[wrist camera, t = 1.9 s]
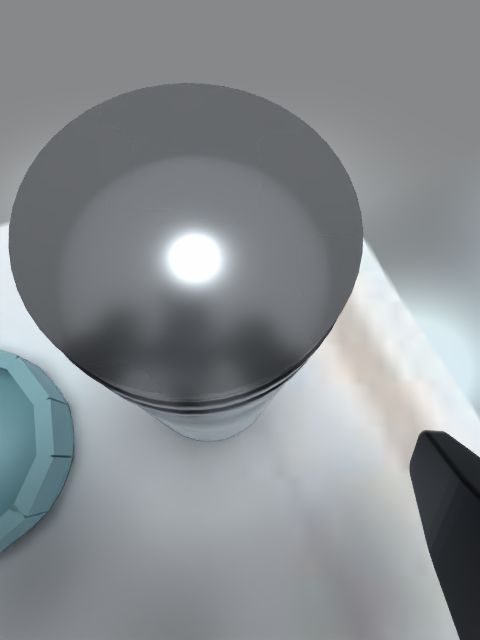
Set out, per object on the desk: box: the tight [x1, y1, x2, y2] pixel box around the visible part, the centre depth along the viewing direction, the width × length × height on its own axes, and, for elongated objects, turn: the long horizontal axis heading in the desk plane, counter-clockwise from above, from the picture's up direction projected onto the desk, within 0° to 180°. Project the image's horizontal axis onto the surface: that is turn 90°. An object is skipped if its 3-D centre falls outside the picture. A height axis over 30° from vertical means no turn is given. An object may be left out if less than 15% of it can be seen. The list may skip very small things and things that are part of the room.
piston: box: [9, 83, 363, 441], centre depth 13 cm, size 5×5×13 cm
